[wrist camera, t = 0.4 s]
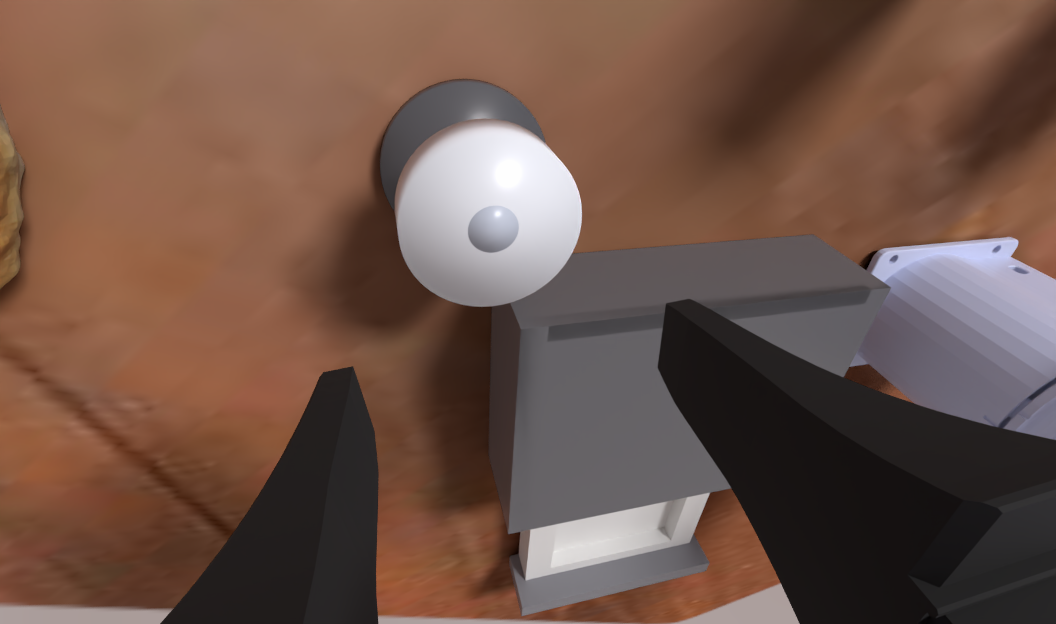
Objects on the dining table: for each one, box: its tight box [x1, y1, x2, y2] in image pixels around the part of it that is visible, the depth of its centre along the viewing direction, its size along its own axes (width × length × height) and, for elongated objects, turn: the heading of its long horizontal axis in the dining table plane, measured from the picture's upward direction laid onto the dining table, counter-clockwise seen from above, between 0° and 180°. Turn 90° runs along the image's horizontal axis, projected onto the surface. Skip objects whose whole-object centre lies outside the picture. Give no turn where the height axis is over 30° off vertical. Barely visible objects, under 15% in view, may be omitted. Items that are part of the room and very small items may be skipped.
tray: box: [509, 493, 710, 616], centre depth 32 cm, size 11×13×3 cm
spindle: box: [380, 79, 546, 212], centre depth 18 cm, size 6×6×4 cm
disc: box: [395, 118, 582, 307], centre depth 16 cm, size 5×5×2 cm
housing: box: [488, 235, 891, 534], centre depth 25 cm, size 12×16×5 cm
